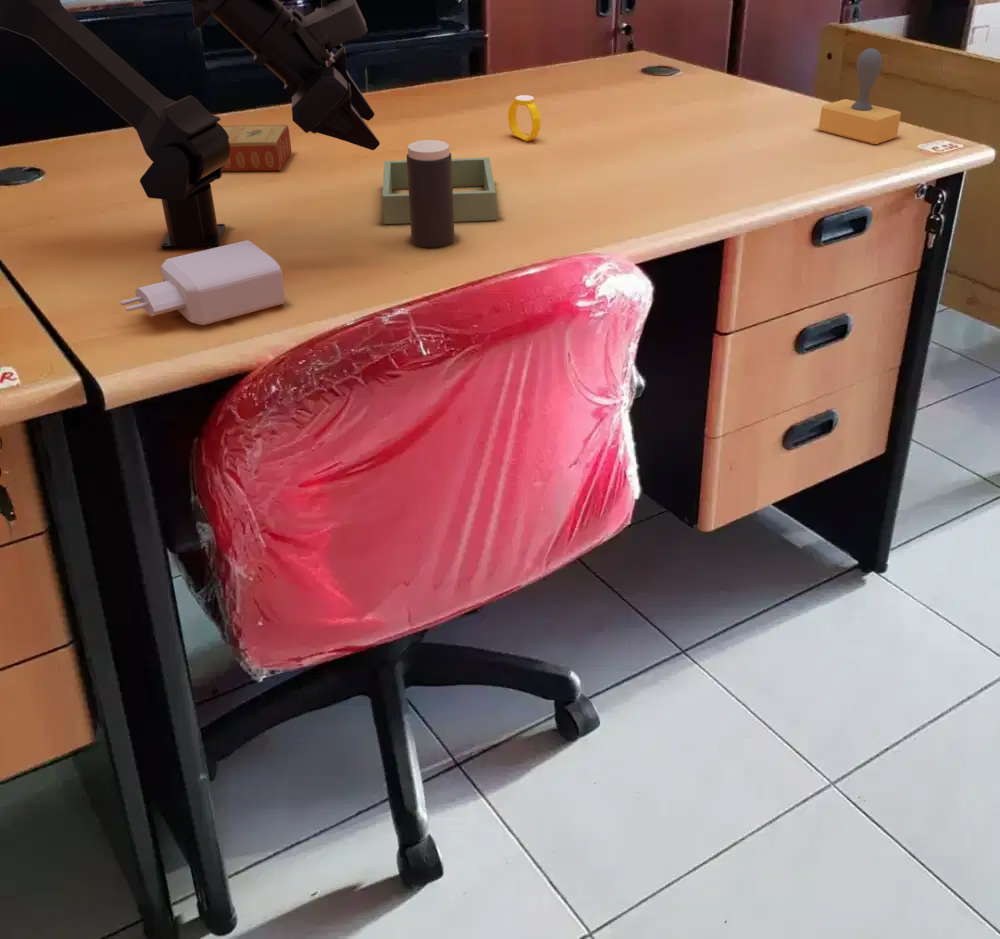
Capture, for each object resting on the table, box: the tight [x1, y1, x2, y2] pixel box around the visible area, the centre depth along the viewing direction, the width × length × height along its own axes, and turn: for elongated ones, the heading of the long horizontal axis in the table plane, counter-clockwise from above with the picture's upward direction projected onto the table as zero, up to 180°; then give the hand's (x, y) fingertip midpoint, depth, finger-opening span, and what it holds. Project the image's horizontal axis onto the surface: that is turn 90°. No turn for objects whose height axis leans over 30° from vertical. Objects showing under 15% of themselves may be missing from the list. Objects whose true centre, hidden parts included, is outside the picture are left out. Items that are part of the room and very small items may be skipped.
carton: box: [221, 124, 292, 172], centre depth 149 cm, size 8×16×4 cm, turn 89°
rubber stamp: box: [817, 47, 902, 145], centre depth 155 cm, size 10×6×12 cm, turn 40°
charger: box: [119, 239, 286, 326], centre depth 109 cm, size 5×9×15 cm
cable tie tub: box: [406, 139, 455, 249], centre depth 122 cm, size 5×5×11 cm
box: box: [381, 157, 497, 225], centre depth 135 cm, size 14×14×4 cm
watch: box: [507, 94, 541, 142], centre depth 157 cm, size 6×3×6 cm, turn 38°
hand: (374, 131), depth 119 cm, fingers open, 9 cm apart
